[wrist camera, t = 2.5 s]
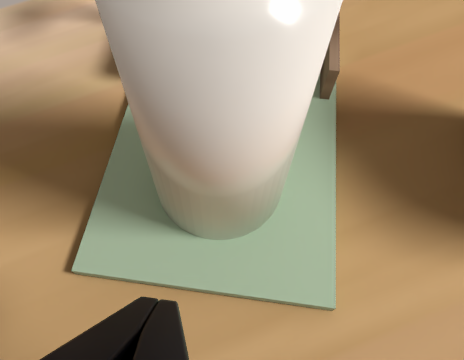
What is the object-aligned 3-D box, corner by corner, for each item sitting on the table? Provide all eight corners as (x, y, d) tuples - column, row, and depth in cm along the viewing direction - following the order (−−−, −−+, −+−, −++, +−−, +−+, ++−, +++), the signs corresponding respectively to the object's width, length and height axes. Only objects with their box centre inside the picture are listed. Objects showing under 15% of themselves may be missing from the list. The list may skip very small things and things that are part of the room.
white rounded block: (247, 263, 19) (288, 80, 8) (132, 203, 21) (22, -26, 9) (301, 159, 22) (386, -82, 11) (197, 113, 24) (176, -143, 12)
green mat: (332, 310, 19) (335, 308, 18) (75, 273, 19) (71, 270, 19) (334, 24, 29) (336, 17, 28) (165, 5, 29) (164, -2, 29)
